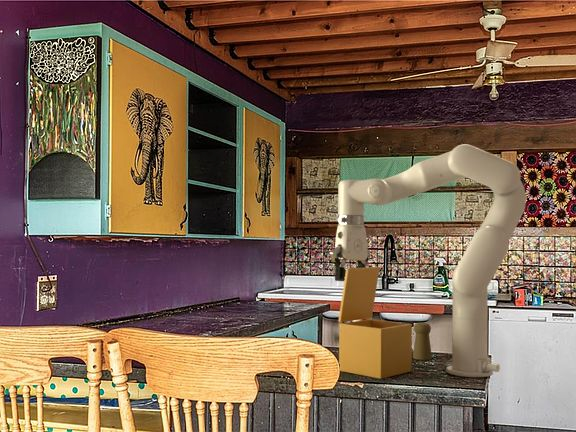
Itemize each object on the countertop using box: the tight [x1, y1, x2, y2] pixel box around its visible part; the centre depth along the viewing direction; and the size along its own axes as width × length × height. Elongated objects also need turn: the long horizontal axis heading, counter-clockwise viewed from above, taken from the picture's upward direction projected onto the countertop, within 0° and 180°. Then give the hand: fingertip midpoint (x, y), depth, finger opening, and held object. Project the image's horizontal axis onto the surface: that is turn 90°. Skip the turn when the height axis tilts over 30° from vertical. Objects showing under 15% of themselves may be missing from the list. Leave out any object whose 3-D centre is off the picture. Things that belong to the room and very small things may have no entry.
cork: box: [412, 322, 433, 361], centre depth 214 cm, size 6×6×11 cm
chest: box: [338, 318, 413, 380], centre depth 194 cm, size 15×15×13 cm
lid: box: [337, 266, 380, 323], centre depth 200 cm, size 15×15×5 cm
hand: (350, 280), depth 201 cm, fingers open, 9 cm apart
